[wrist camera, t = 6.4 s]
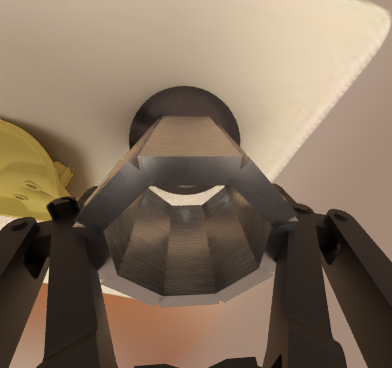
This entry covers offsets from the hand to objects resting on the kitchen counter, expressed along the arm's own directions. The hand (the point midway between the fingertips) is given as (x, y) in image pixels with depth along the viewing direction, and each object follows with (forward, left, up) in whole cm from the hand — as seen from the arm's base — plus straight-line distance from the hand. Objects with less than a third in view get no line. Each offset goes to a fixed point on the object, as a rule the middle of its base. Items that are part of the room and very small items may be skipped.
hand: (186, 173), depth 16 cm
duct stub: (0, 0, -8) cm, 8 cm away
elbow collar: (0, 0, 0) cm, 0 cm away
